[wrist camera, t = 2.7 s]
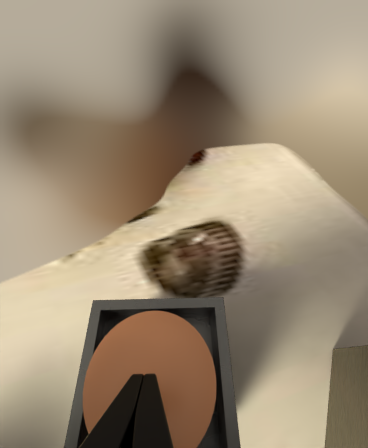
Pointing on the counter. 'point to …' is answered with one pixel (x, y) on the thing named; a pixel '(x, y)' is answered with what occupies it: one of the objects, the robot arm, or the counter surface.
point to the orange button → (156, 372)
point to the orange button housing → (211, 333)
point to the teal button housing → (348, 399)
